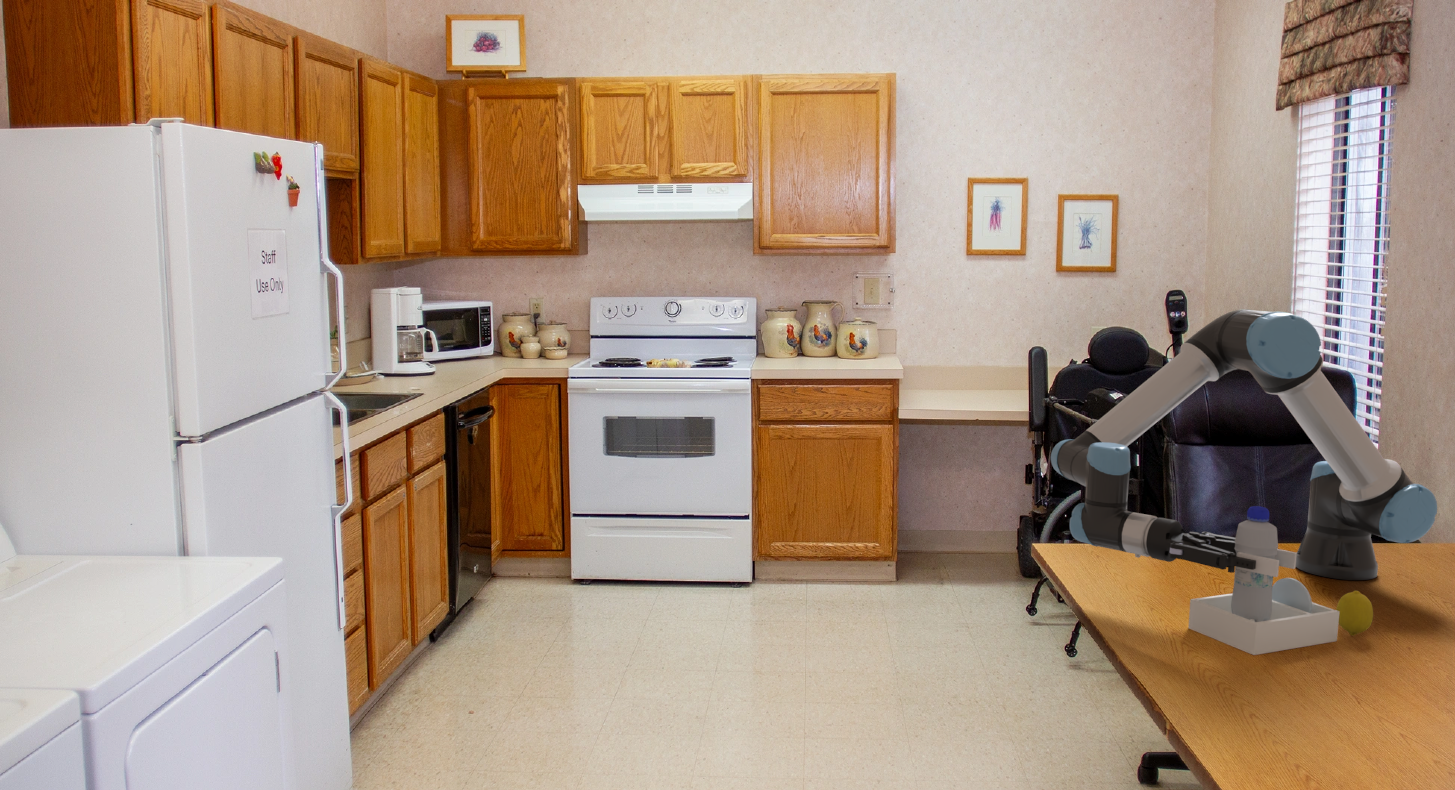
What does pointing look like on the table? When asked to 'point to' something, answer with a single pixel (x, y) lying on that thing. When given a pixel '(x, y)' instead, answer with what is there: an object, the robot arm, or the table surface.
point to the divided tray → (1286, 628)
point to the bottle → (1249, 586)
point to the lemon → (1355, 612)
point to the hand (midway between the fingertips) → (1286, 564)
